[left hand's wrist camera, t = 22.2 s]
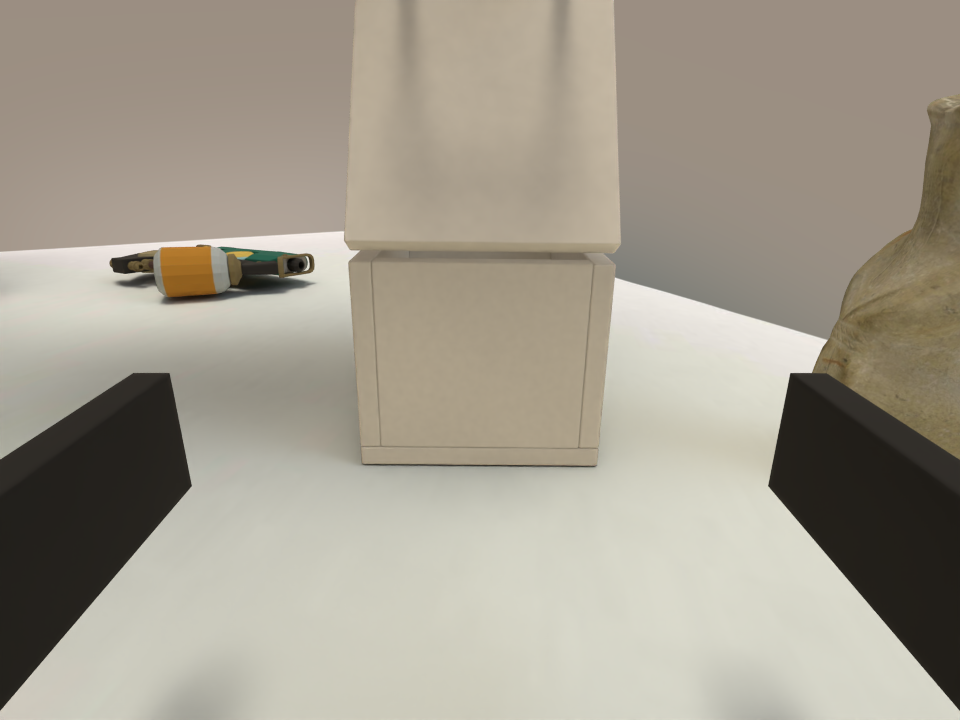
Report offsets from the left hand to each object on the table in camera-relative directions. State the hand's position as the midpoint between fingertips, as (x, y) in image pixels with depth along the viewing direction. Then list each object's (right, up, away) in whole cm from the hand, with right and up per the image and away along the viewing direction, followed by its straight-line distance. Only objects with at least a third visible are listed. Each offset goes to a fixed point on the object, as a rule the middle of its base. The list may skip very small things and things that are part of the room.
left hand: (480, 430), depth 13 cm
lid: (0, +13, +11) cm, 17 cm away
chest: (0, -1, +19) cm, 19 cm away
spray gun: (-26, +9, +44) cm, 52 cm away
